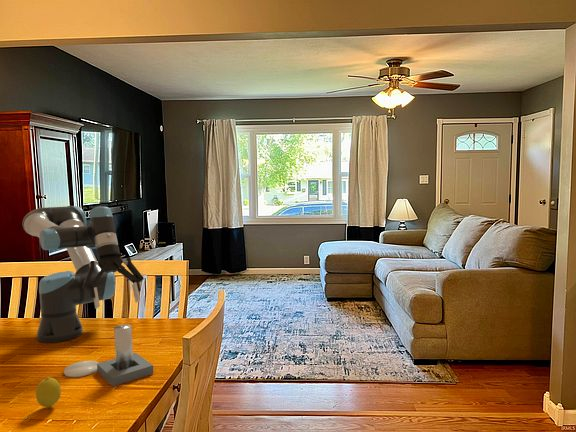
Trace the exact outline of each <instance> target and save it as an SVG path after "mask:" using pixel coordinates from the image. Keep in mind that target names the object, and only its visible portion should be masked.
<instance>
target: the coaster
mask: <svg viewBox="0 0 576 432" xmlns="http://www.w3.org/2000/svg"><path fill="white" fill-rule="evenodd" d="M98 363H100V362H99V361H96V360H84V361H83V360H82V361H78V362H75V363H72V364H70V365H68V366H66V367H65V368H64V370H63V375H64V376H65V377H68V378H81V377H85V376H90V375H92V374H95V373H97V364H98Z"/></svg>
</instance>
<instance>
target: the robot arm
mask: <svg viewBox="0 0 576 432" xmlns="http://www.w3.org/2000/svg"><path fill="white" fill-rule="evenodd" d="M89 219H90V222H89V224H88V225H87V217H86V214H85V212H84V209H82V208H81V207H80V206H78V205H77V206H76V205H68V206H54V207H53V206H52V207H51V206H50V207H39V208H35V209H33V210H31V211H29V212H28V213H27V214H26V215H25V216H24V217H23V220H22V224H21V225H22V227H23V228H22V229H23V230H24V231H25V233H26V234H29V235H30V236H33V237H37V238H39V244H40V247H41V249H42V250H43V251H55V250H60V249H61V250H62V249H66V250H67V253H68V255H69V257H70V260H71V262H72V264H73V267H74V269H75V273H74V271H69V270H67V271H60V272H55V273H50V274H48V275H46V276H44V277H42V278H41V279H40V281H39V285H38V289H39V290H38V293H39V302H40V318H41V319H40V321H39V326H38V329H37V332H36V338H37V339H36V340H37V341H38V342H40V343H47V344H48V343H60V342H64V341H65V342H66V341H69V340H72V339H75V338H78V337H80V336H81V335H82V334H83V332H84V331H83V325H82V323H81V320H80V318H79V315H78V314H77V306H78V305H83V304H89V303H93V304H94V309H99V307H100V306H101V304H100V301H104V300H109V299H111V298H112V297H113V296H114V295H115V291H116V275H115V273H116V272H117V273H119V274H121V275H123V276H124V277H125V278H126V279H128V280H129V281H130V282H131V283H132V284H131V287H132V292H133V297H134V301H135V303H138V302H140V301H141V297H140V294H139V293H140V292H141V285H140V283H141V282H142V281H143V280H144V279H145V278H144V276H143V275H142V274H141V273H140V271H139V270H138V269H137V267H136V266H135V264H133V262H132V259H131V258H130V256H127V257H126V258H122V257H121V252H120V247H119V243H118V242H119V241H118V238H117V233H116V227H115V222H114V216H113V213H112V209H111V208H110V207H108V206H96V207H93V208H91V210H90V211H89ZM95 249H96V256H97V258H96V256H95V253H94V252H93V250H95ZM123 264H124V265H125V266H124V265H123ZM126 267H127V268H128V269H127V268H126Z"/></svg>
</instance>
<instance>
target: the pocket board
mask: <svg viewBox="0 0 576 432" xmlns="http://www.w3.org/2000/svg"><path fill="white" fill-rule="evenodd" d="M96 373H98V374H99V375H100V376H101V377H102V378H103V379H104V380H105V381H107V383H108V384H110V386H112V387H115V386H118V385H121V384H125V383H127V382H128V383H129V382H130V381H134V380H137V379H140V378H143V377H147V376H150V375H153V374H154V365H153V364H152V363H151V362H149V361H148V360H147V359H145V358H144V357H142V356H141V355H139V354H138V353H137V352H134V353H133V367H130V368H127V369H123V370H120V371H117V370H116V358H113V359H108V360H105V361H102V362H99V363H98V364H97V371H96Z"/></svg>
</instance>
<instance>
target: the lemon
mask: <svg viewBox="0 0 576 432" xmlns="http://www.w3.org/2000/svg"><path fill="white" fill-rule="evenodd" d="M61 389H62V388H61V385H60V382H59V381H58V380H57V379H56V378H53V377H49V376H46V377H45V378H44V379H42V380H41V381H40V382H39V383H38V384H37V387H36V390H35V391H36V392H35V397H36V401H37V403H38V404H39V405H40V406H42V407H45V408H49V409H50V408H51V407H53V405H55V404H57V402H58V401H59V400H60V398H61V392H62V390H61Z"/></svg>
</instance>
